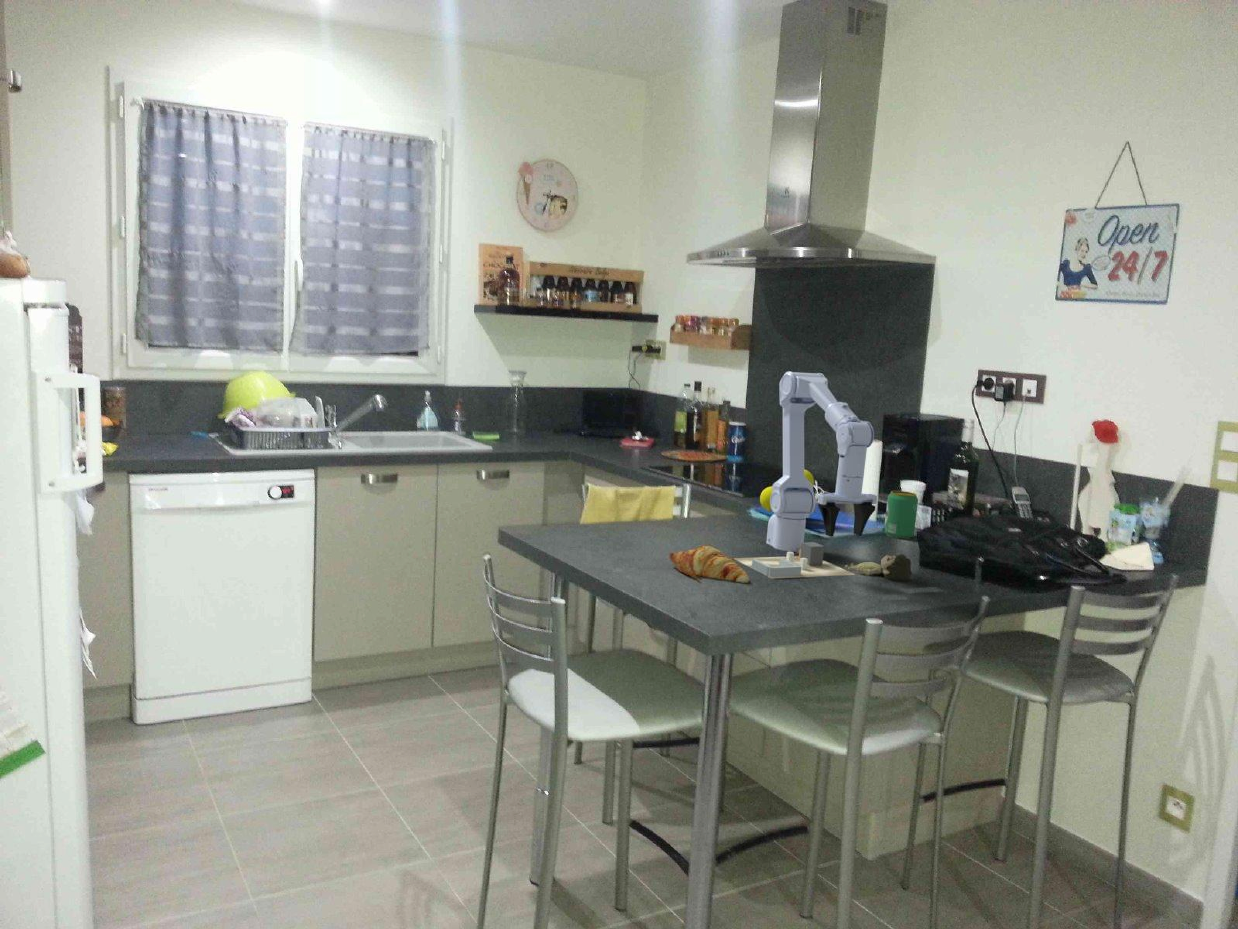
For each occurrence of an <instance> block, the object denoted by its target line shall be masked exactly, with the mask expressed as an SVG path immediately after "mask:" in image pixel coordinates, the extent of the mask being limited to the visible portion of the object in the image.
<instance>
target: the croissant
mask: <svg viewBox="0 0 1238 929" xmlns="http://www.w3.org/2000/svg"><path fill="white" fill-rule="evenodd" d="M733 558H734V557H729V556H725V555H724V553H723V552H722V551H721V550H719V549H717V548H715V547H713V546H710V545H706V544H703V545H700V546H698V548H690V549H689V550H687V551H678V552H671V553H669V559H670V562H672V564H674V566H675V567H676V569H677V570H678V571H679V573H680V572H681V573H683V574H685V575H687V576H688V575H690V576H689V577H691V576H693V577H692V578H695V577H696V579H698V578H699V579H698V580H701V579H702V578H701V577H704V578H711V579H717V580H718V579H719V580H723V581H730V582H735V583H736V582H737V583H741V584H742V583H743V584H748V583H749V582H750V577H749V576H748V573H747V572H746V570H745V569H744V568H742V567H741V566H739V564H738V563H737V561H736V560H735V559H733Z"/></svg>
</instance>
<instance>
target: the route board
mask: <svg viewBox="0 0 1238 929" xmlns="http://www.w3.org/2000/svg"><path fill="white" fill-rule="evenodd" d="M732 558H733V559H735V561H736V562H739V563H741V564H743V565H745V566H747V567H748V568H750V569H752V570H754V571H757V570H755V569H753V568H752V560H753V559H757V560H759V561H761V562H763V563H765V564H767V565H769V566H771V567H779V558H784V559H786V556H769V557H768V556H767V557H766V556H765V557H761V556H760V557H738V558H737V557H736V558H734V557H732ZM793 563H794V564H796V565H799V566H800V560H799V555H798V556H797V555H796V556H795V555H794V559H793ZM757 572H758V571H757ZM836 576H837V577H838V576H840V577H841V576H857V575H856V574H855V573H853V572H851V571H849V570H847V569H845V568H842V567H840V566H837V565H835V564H833V563H831V562H828V561H826V560H824V559H823V562H822V565H818V566H809V565H807V570H802V569H801V576H783V577H769V579H788V578H789V579H790V578H791V579H792V578H793V579H795V578H812V577H813V578H814V577H815V578H817V577H836Z"/></svg>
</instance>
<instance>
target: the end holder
mask: <svg viewBox="0 0 1238 929" xmlns="http://www.w3.org/2000/svg"><path fill="white" fill-rule="evenodd" d="M752 568H753V569H752ZM752 568H751V569H752V570H754V569H755V570H754V571H756V570H757V573H760V574H762V575H764V576H766V577H768V578H770V577H783V576H801V566H799V565H796V564H794V563H792V562H790V561H788V560H786V559H784V558H779V567H771V566H769V565H767V564H765V563H763V562H761V561H759V560H757V559H753V560H752Z"/></svg>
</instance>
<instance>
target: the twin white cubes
mask: <svg viewBox="0 0 1238 929" xmlns="http://www.w3.org/2000/svg"><path fill="white" fill-rule="evenodd" d="M794 556H795V553H794V552H791V551H786V556H785V557H786V560H788V561H790V562H792V563H793V559H794ZM807 561H808V559H806V558H800V566H801V569H802V570H807Z"/></svg>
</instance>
